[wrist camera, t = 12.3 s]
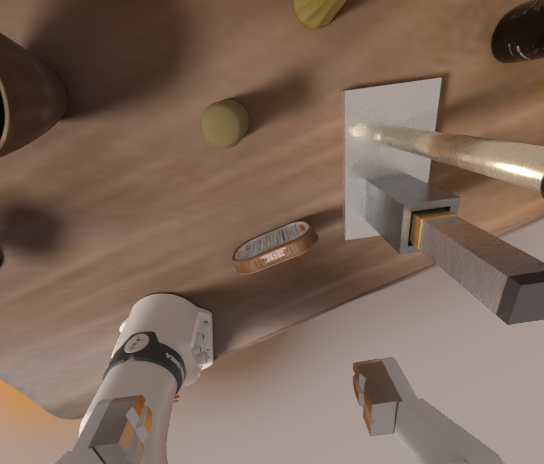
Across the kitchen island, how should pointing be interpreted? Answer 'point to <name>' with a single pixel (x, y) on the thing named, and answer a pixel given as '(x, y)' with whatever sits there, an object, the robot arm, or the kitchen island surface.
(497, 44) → the supplement bottle
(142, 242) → the kitchen island surface
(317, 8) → the vase
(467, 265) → the column
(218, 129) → the olive waisted cylinder
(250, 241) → the tin
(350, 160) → the stand
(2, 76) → the plant pot
